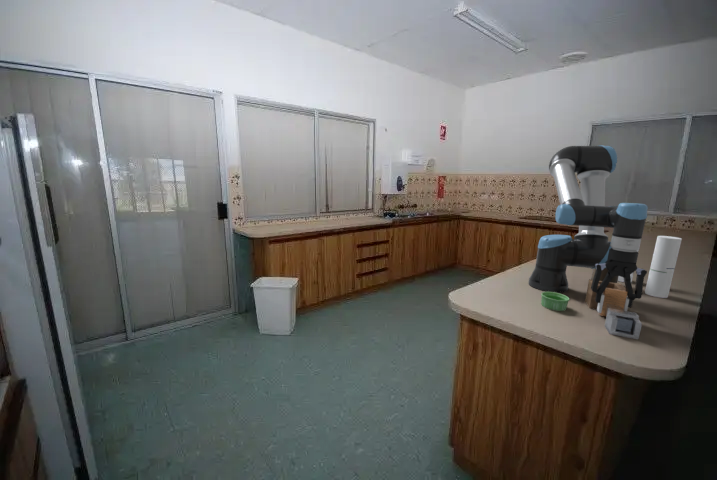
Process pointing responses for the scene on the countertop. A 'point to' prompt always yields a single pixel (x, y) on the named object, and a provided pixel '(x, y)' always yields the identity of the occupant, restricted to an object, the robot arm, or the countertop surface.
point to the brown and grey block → (616, 307)
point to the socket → (592, 295)
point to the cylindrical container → (663, 266)
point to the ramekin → (554, 301)
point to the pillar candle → (604, 275)
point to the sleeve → (612, 320)
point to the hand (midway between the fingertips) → (610, 313)
